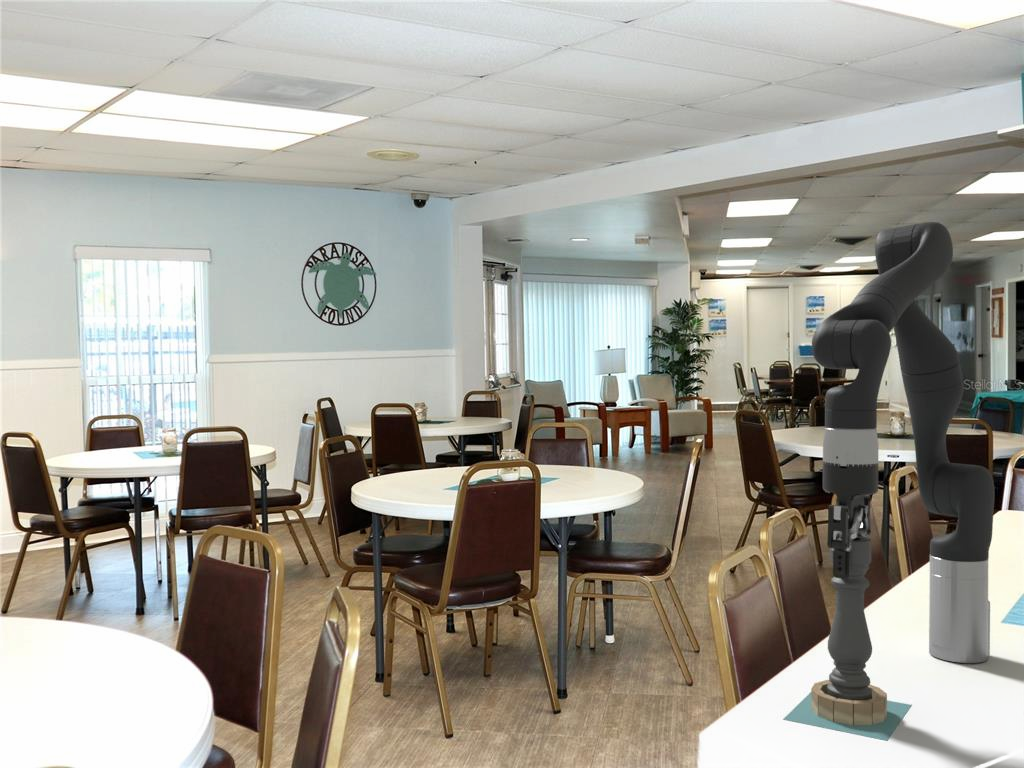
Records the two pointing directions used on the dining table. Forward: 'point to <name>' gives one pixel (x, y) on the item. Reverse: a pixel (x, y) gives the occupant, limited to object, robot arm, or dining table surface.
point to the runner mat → (877, 731)
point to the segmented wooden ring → (849, 706)
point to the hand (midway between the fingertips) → (849, 572)
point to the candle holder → (851, 628)
